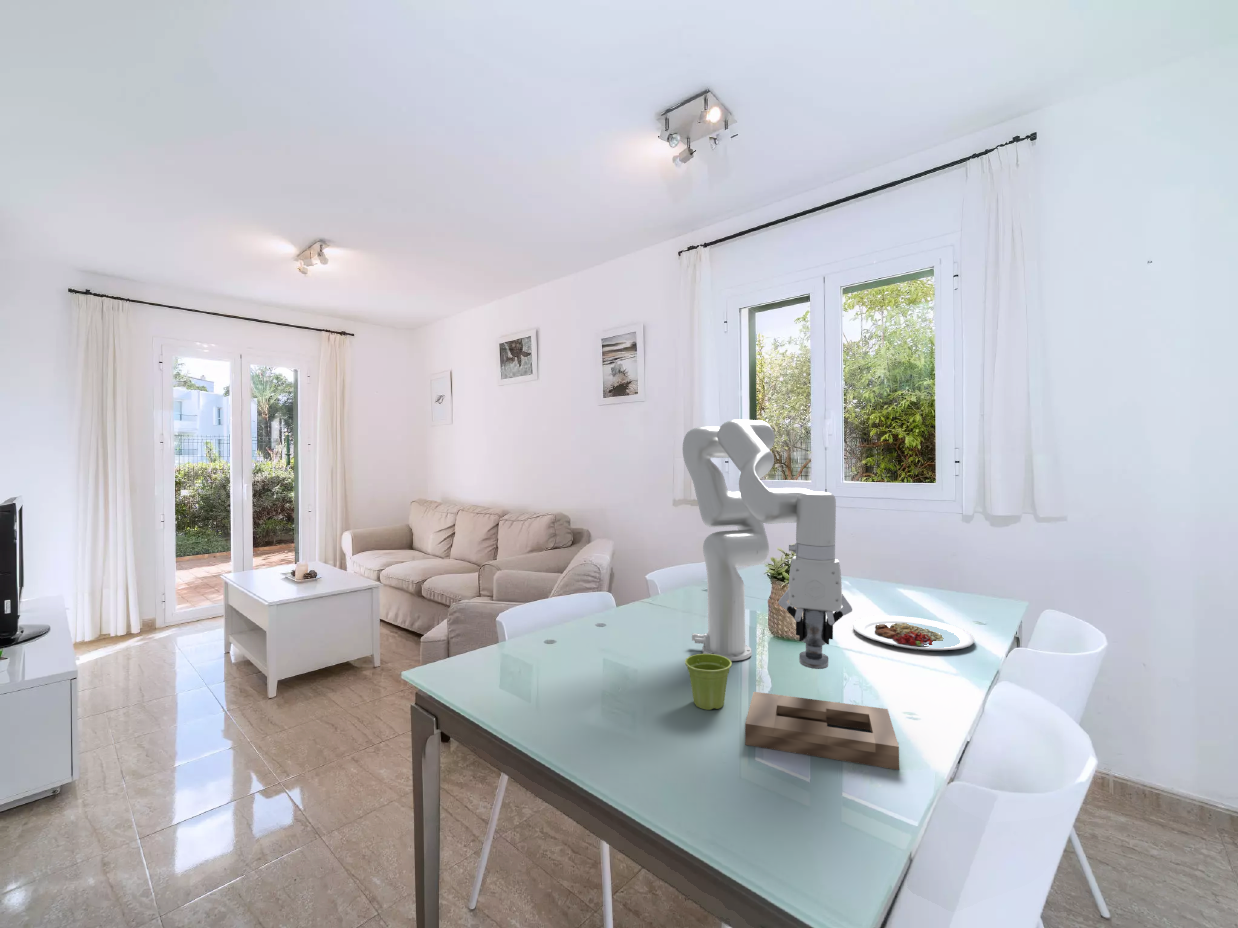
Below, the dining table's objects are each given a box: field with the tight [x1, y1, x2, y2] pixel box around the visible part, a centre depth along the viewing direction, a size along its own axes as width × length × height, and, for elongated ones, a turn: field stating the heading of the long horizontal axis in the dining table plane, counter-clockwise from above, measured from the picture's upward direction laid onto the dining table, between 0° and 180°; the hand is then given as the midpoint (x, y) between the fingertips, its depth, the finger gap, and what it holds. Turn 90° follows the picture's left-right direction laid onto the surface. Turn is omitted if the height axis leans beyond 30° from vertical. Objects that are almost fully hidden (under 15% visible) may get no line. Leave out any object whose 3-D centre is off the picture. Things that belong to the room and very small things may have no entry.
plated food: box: [852, 615, 975, 651], centre depth 151 cm, size 30×30×3 cm
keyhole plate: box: [744, 691, 900, 771], centre depth 96 cm, size 24×14×4 cm, turn 70°
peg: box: [798, 609, 829, 670], centre depth 110 cm, size 6×6×13 cm
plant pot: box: [684, 653, 733, 711], centre depth 110 cm, size 9×9×9 cm
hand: (814, 639), depth 110 cm, fingers closed on peg, 4 cm apart
